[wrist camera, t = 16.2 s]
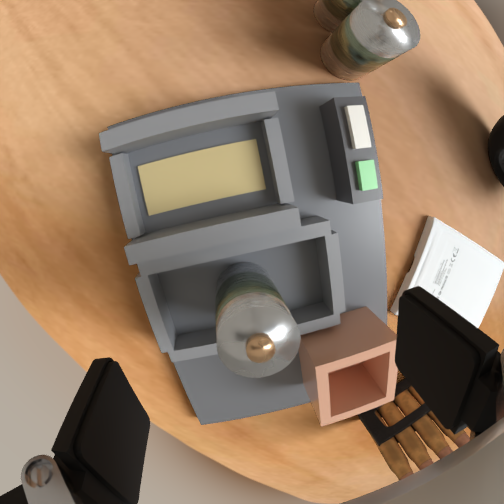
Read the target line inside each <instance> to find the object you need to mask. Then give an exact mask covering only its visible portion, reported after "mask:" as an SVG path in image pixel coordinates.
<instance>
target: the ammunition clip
mask: <svg viewBox="0 0 504 504" xmlns="http://www.w3.org/2000/svg"><path fill="white" fill-rule="evenodd" d="M414 398H415V399H416V400H417V401H416V400H415V399H414ZM418 403H419V404H420V405H421V406H420V405H419V404H418ZM398 407H399V408H400V410H401V411H402V412H403V414H404V415H405V416H406V417H404V416H403V414H402V413H401V412H400V410H399V409H398ZM358 416H359V418H360V420H361V421H362V423H363V424H364V426H365V427H366V429H367V430H368V432H369V433H370V435H371V436H372V438H373V440H374V442H375V443H376V445H377V447H378V449H379V450H380V452H381V454H382V455H383V457H384V459H385V461H386V462H387V464H388V466H389V468H390V469H391V470H392V471H393V472H394V473H395V474H396V476H397V477H398V479H399V480H402V479H404V478H406V477H408V476H410V475H412V474H413V471H412V469H411V467H410V465H409V462H408V459H407V457H406V456H405V454H404V453H403V451H402V449H401V448H400V446H399V445H398V443H400V445H401V446H402V448H403V449H404V451H405V452H406V454H407V455H408V457H409V458H410V459H411V460H412V461H413V462H414V463H415V464H416V465H417V467H418V468H419V469H420V470H422V469H424V468H426V467H428V466H429V465H431V464H433V461H432V459H431V458H430V456H429V454H428V452H427V449H426V447H425V445H424V444H423V443H422V441H421V440H420V438H419V437H418V435H417V434H416V433H415V431H417V433H418V434H419V435H420V437H421V438H422V439H423V441H424V442H425V444H426V445H427V446H428V447H429V448H430V449H432V450H433V451H434V453H435V454H436V455H437V456H438V457H439V458H440V459H442V458H444V457H445V456H447V455H449V454H450V453H452V452H453V451H452V450H451V448H450V447H449V445H448V443H447V442H446V441H445V438H444V436H443V434H442V433H441V431H442V432H443V433H444V434H445V435H446V436H448V437H449V438H450V439H451V440H452V441H453V442H454V443H455V444H456V445H457V446H458V447H459V448H460V447H461V446H463V445H465V444H466V443H468V442H469V441H470V438H469V437H468V435H467V434H466V432H465V431H464V430H462V431H460V432H458V433H457V434H455V435H454V434H453V433H452V431H451V430H450V429H449V430H447V429H445V428H444V427H443V425H442V424H441V423H440V422H439V420H438V419H437V418H436V416H435V415H434V414H433V412H432V411H431V410H430V409H429V407H428V406H427V405H426V403H425V402H424V401H423V400H422V398H421V397H420V396H419V394H418V393H417V392H416V391H415V389H414V388H413V387H412V386H411V384H410V383H409V382H408V381H407V379H406V378H405V379H403V380H402V381H401V382H399V383H398V384H396V389H395V396H394V400H393V401H390V402H388V403H386V404H383V405H381V406H378V407H376V408H373V409H371V410H368V411H366V412H363V413H360V414H358ZM381 417H383V419H384V420H385V422H386V423H387V425H388V426H389V427H387V426H386V424H385V422H384V421H383V419H382V418H381ZM432 420H433V421H434V422H435V423H436V425H437V426H438V427H439V428H440V429H441V431H440V430H439V429H438V427H437V426H436V425H435V424H434V422H433V421H432ZM467 427H468V426H467ZM468 428H469V427H468ZM469 429H470V428H469Z"/></svg>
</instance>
